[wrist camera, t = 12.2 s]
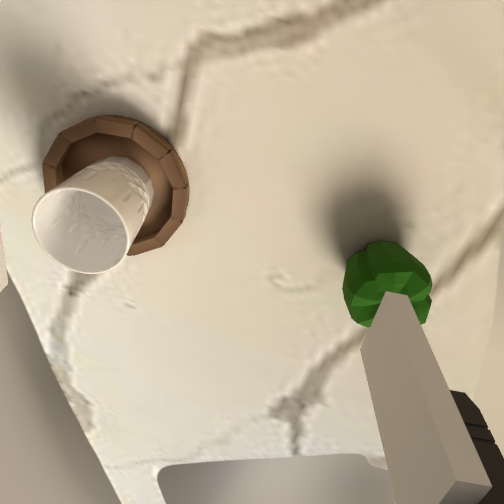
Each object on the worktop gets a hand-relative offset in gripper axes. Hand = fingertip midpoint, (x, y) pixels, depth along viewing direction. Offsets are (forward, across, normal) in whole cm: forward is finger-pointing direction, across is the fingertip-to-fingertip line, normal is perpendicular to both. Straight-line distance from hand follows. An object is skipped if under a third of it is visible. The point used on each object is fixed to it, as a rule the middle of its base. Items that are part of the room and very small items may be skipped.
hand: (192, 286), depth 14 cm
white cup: (+27, -11, -10) cm, 31 cm away
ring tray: (+28, -11, -10) cm, 32 cm away
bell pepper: (+28, +17, -13) cm, 35 cm away
